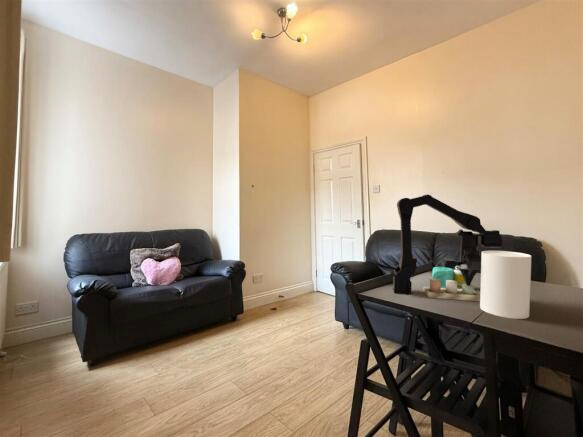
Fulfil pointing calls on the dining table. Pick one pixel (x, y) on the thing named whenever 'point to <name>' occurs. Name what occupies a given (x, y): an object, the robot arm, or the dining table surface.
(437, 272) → the turquoise rounded piece
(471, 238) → the robot arm
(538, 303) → the dining table surface
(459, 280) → the supplement bottle
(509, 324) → the dining table surface
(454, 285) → the button cream
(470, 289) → the button sage
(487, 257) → the canister
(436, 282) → the button terracotta
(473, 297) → the three-slot wooden rack
